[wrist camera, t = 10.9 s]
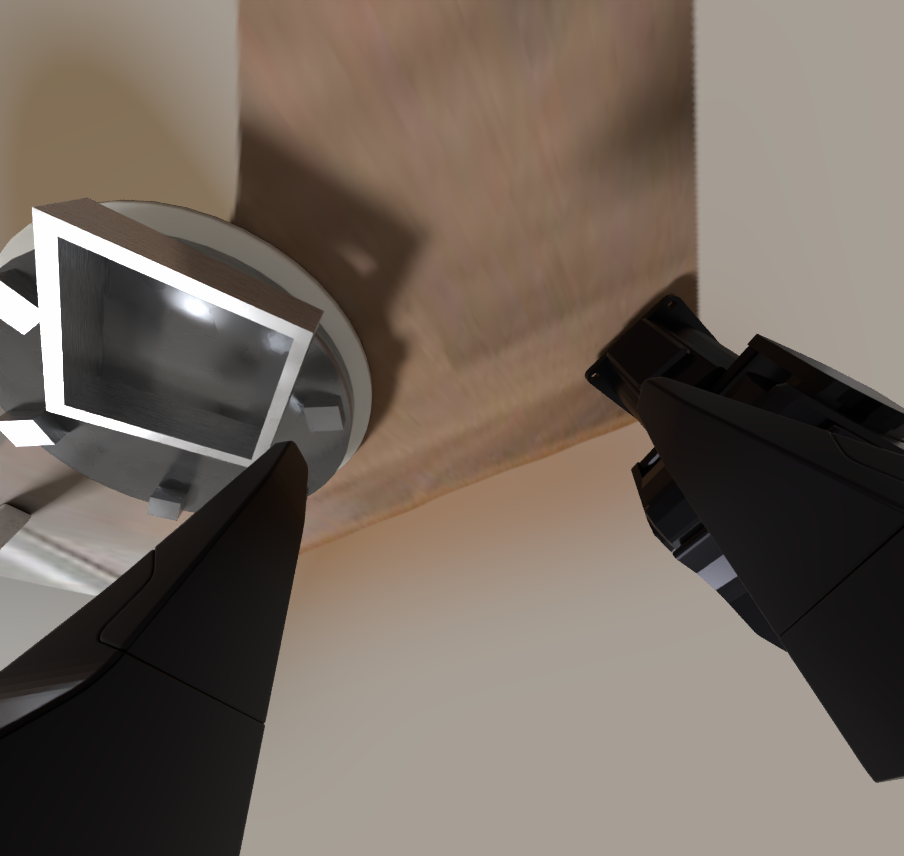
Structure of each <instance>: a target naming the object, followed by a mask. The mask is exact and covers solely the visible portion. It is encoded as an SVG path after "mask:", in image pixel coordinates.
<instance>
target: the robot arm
mask: <svg viewBox="0 0 904 856" xmlns="http://www.w3.org/2000/svg"><path fill="white" fill-rule="evenodd" d="M671 301H672V304H671V305H670V306H669V307H668V304H669V303H670V302H671ZM748 345H749V347H747V348H746V349H745V351H744V352H743V353H742V354H741V355H740V356H738V355H737V354H735V353H734V352H732V351H731V350H729V349H727V348H725V347H724V346H723V345H721V344H720V343H719V342H718V341H717V340H716V339H715V337H714V336H713V335H712V334H711V333H710V332H709V331H708V329H706V327H705V326H704V325H703V324H702V323H701V321H700V320H699V319H698V318H697V317H696V316H695V315H694V313H693V312H692V311H691V310H690V309H689V308H688V307H687V305H686V304H685V303H684V302H683V301H682V300H681V299H680V298H679V297H678V296H676V295H674V294H669V295H666V296H665V297H664V298H662V299H661V300H660V301H659V302H658V303H657V304H656V305H655V306H654V307H653V308H652V309H651V310H650V311H649V312H648V313H647V314H646V315H645V316H644V317H643V318H641V319H640V320H639V321H638V322H637V323H636V324H635V325H634V326H633V327H632V328H631V329H630V330H629V331H628V332H627V333H626V334H625V335H624V336H623V337H621V338H620V339H619V340H618V341H617V342H616V343H615V344H614V345H613V346H612V347H611V348H610V349H609V350H608V351H607V352H606V353H605V354H604V355H603V356H602V357H600V358H599V359H598V360H597V361H596V362H595V363H594V364H593V365H592V366H591V367H590V368H589V369H588V370H587V371H586V373H585V378H586V379H587V380H588V382H589V383H590V384H592V385H593V386H594V387H596V388H597V389H598V390H600V391H601V392H602V393H603V394H605V395H606V396H607V397H609V398H610V399H611V400H613V401H614V402H615V403H616V404H618V405H619V406H620V407H622V408H623V409H624V410H626V411H627V412H628V413H629V414H631V415H632V416H633V417H635V418H636V419H637V420H638V421H639V422H640V423H641V425H642V426H643V427H644V428H645V429H646V431H647V432H648V434H649V436H650V439H651V440H652V442H653V444H654V446H655V447H654V448H653V449H652V450H651V451H650V452H649V453H648V454H647V456H646V457H645V458H644V459H643V460H642V461H641V462H640V463H639V462H638V463H637V464H636V465H635V466H634V467H633V468H632V469H631V471H632V474H633V477H634V480H635V483H636V487H637V489H638V493H639V496H640V499H641V502H642V505H643V508H644V511H645V514H646V517H647V520H648V522H649V525H650V527H651V529H652V531H653V533H654V535H655V536H656V537H657V538H658V539H659V540H660V541H661V542H662V543H663V544H664V545H665V546H666V547H667V548H668V549H669V550H670V551H671V552H672V553H673V556H674V557H675V558H676V559H677V560H678V561H680V562H681V563H683V564H684V565H686V566H687V567H688V568H690V569H691V570H693V571H694V572H696V573H697V574H698V575H699V576H700V577H701V578H703V579H704V580H705V581H706V582H707V583H708V584H710V585H711V586H712V587H713V588H714V589H715V590H716V591H717V592H718V593H719V594H720V595H721V596H722V597H723V598H724V599H725V600H726V601H727V602H728V603H729V604H730V605H731V606H732V608H734V610H735V611H736V612H737V613H738V614H739V615H740V616H741V618H742V619H743V620H744V621H745V622H746V623H747V624H748V625H749V626H750V627H751V629H752V630H753V631H754V632H755V633H756V634H758V635H759V636H761V637H762V638H764V639H766V640H767V641H769V642H771V643H772V644H774V645H776V646H778V647H779V648H781V649H783V650H785V651H786V652H788V653H789V655H790V657H791V658H792V660H793V661H794V663H795V664H796V666H797V667H798V669H799V670H800V672H801V673H802V675H803V676H804V678H805V679H806V681H807V682H808V684H809V685H810V686H811V688H812V690H813V691H814V693H815V694H816V696H817V697H818V699H819V701H820V702H821V703H822V705H823V707H824V708H825V710H826V711H827V713H828V714H829V716H830V717H831V719H832V720H833V722H834V723H835V725H836V726H837V728H838V729H839V731H840V732H841V734H842V735H843V737H844V738H845V740H846V741H847V743H848V744H849V746H850V747H851V749H852V750H853V752H854V754H855V755H856V757H857V758H858V760H859V761H860V763H861V764H862V766H863V767H864V768H865V770H866V771H867V773H868V774H869V775H870V776H871V777H872V779H873V780H874V781H875V782H876V783H879V782H885V781H891V780H897V779H903V778H904V408H903V407H901V406H899V405H898V404H896V403H895V402H893V401H891V400H890V399H888V398H887V397H885V396H883V395H882V394H880V393H878V392H877V391H875V390H873V389H872V388H870V387H868V386H866V385H864V384H862V383H860V382H858V381H856V380H854V379H852V378H850V377H848V376H846V375H844V374H842V373H840V372H838V371H837V370H835V369H833V368H831V367H828V366H827V365H825V364H823V363H821V362H818V361H816V360H814V359H812V358H810V357H807V356H805V355H803V354H801V353H799V352H796V351H794V350H792V349H790V348H787V347H785V346H783V345H781V344H779V343H776V342H774V341H772V340H770V339H768V338H766V337H763V336H761V335H759V334H756V335H755V336H754V337H753V339H752V340H751V341H750V342H749V343H748ZM595 373H596V375H595V376H594V377H591V376H592V375H593V374H595ZM307 484H308V465H307V462H306V461H305V459H304V457H303V455H302V453H301V452H300V450H299V448H298V446H297V444H296V443H295V442H294V441H291V440H290V441H284V442H278V443H276V444H274V445H273V446H272V447H271V448H270V449H268V450H267V451H266V452H265V453H264V454H263V455H261V456H260V457H259V458H258V459H257V460H256V461H254V462H253V463H252V464H251V465H250V466H249V467H248V468H246V469H245V470H244V471H243V472H242V473H241V474H239V475H238V476H237V477H236V478H235V479H234V480H232V481H231V482H230V483H229V484H228V485H227V486H225V487H224V488H223V489H222V490H221V491H220V492H219V493H217V494H216V495H215V496H214V497H213V498H212V499H210V500H209V501H208V502H207V503H206V504H205V505H203V506H202V507H201V508H200V509H199V510H198V511H196V512H195V513H194V514H193V515H192V516H191V517H190V518H188V519H187V520H186V521H185V522H184V523H183V524H181V525H180V526H179V527H178V528H177V529H176V530H174V531H173V532H172V533H171V534H170V535H169V536H167V537H166V538H165V539H164V540H163V541H162V542H161V543H159V544H158V545H157V546H156V547H155V550H151V551H150V552H149V553H148V554H147V555H145V556H144V557H143V558H142V559H141V560H140V561H138V562H137V563H136V564H135V565H134V566H133V567H131V568H130V569H129V570H128V571H127V572H125V573H124V574H123V575H122V576H121V577H119V578H118V579H117V580H116V581H115V582H114V583H112V584H111V585H110V586H109V587H107V588H106V589H105V590H104V591H102V592H101V593H100V594H99V595H97V596H96V597H95V598H94V599H93V600H91V601H90V602H89V603H87V604H86V605H85V606H84V607H82V608H81V609H80V610H78V611H77V612H76V613H75V614H74V615H72V616H71V617H70V618H68V619H67V620H66V621H64V622H63V623H62V624H61V625H59V626H58V627H57V628H55V629H54V630H53V631H52V632H50V633H49V634H48V635H46V636H45V637H44V638H43V639H41V640H40V641H39V642H37V643H36V644H35V645H34V646H32V647H31V648H30V649H29V650H27V651H26V652H25V653H24V654H22V655H21V656H19V657H18V658H17V659H16V660H15V661H13V662H12V663H10V664H9V665H8V666H7V667H5V668H4V669H3V670H1V671H0V856H239V854H240V850H241V845H242V840H243V835H244V829H245V824H246V819H247V814H248V809H249V804H250V798H251V794H252V789H253V784H254V779H255V774H256V769H257V764H258V758H259V753H260V748H261V743H262V738H263V732H264V728H265V725H264V723H265V721H266V716H267V711H268V706H269V701H270V696H271V691H272V686H273V681H274V676H275V671H276V665H277V661H278V655H279V650H280V645H281V640H282V635H283V630H284V624H285V620H286V615H287V610H288V605H289V599H290V595H291V590H292V585H293V579H294V574H295V569H296V564H297V559H298V554H299V549H300V544H301V539H302V534H303V528H304V522H305V511H306V497H307Z"/></svg>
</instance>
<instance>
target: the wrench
mask: <svg viewBox="0 0 904 856" xmlns="http://www.w3.org/2000/svg"><path fill="white" fill-rule="evenodd" d="M30 518H31V515H29V514H27V513H25V512H23V511H20V510H18V509H16V508H14V507H12V506H9V505H7V504H3V505H1V506H0V549H1V548H2V547H3V546H4V545H5V544H6V543H7V542H8V541H9V540H10V539H11V538H12V537H13V536H14V535H15V534H16V533H17V532H18V531H19V530H20V529H21V528H22V527H23V526H24V525H25V524H26V523H27V522H28V521H29V519H30Z"/></svg>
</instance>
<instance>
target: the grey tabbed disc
mask: <svg viewBox="0 0 904 856" xmlns="http://www.w3.org/2000/svg"><path fill="white" fill-rule="evenodd" d="M32 215H33V229H34V243H35V249H34V250H31V251H29V252H27V253H24V254H22V255H20V256H18V257H15V258H13V259H12V260H10V261H9V262H7V263H6V264H5V265H3V266H2V267H1V268H0V406H1V407H2V408H3V409H4V410H5V412H6V413H4V414H3V415H1V416H0V431H2V433H3V434H4V435H5V436H6V437H7V438H8V439H9V440H10V441H11V442H12V443H13V444H14V445H15V446H16V447H19V446H39V445H40V446H41V447H43V448H44V449H45V450H46V451H48V452H49V453H50V454H51V455H53V456H54V457H56V458H57V459H59V460H60V461H62V462H63V463H65V464H66V465H68V466H69V467H71V468H73V469H74V470H76V471H78V472H80V473H81V474H83V475H85V476H87V477H88V478H90V479H92V480H94V481H96V482H98V483H101V484H103V485H105V486H107V487H109V488H111V489H114V490H116V491H119V492H121V493H123V494H126V495H128V496H131V497H134V498H137V499H140V500H143V501H146V502H149V506H148V513H147V514H148V515H152V516H157V517H162V518H167V519H171V520H176V521H177V520H178V518H179V516H180V515H181V513H182V511H183V510H184V511H189V512H196V511H198V510H199V509H200V508H201V507H202V506H203V505H205V504H206V503H207V502H208V501H209V500H210V499H212V498H213V497H214V496H215V495H216V494H217V493H219V492H220V491H221V490H222V489H223V488H224V487H225V486H227V485H228V484H229V483H230V482H231V481H232V480H234V479H235V478H236V477H237V476H238V475H239V474H241V473H242V472H243V471H244V470H245V469H246V468H248V467H249V466H250V465H251V464H252V463H253V462H254V461H256V460H257V459H258V458H259V457H260V456H261V455H263V454H264V453H265V452H266V451H267V450H268V449H270V448H271V447H272V446H273V445H274V444H276V443H278V442H284V441H290V440H291V441H294V442H295V443H296V444H297V446H298V448H299V450H300V452H301V453H302V455H303V457H304V459H305V461H306V462H307V465H308V484H307V497H308V496H309V495H311V494H312V493H314V492H315V491H317V490H318V489H319V488H321V487H322V486H323V485H324V484H326V482H327V481H328V480H329V479H330V478H331V477H332V476H333V475H334V474H335V472H336V471H337V469H338V468H339V466H340V465H341V463H342V461H343V459H344V457H345V454H346V452H347V448H348V444H349V440H350V435H351V430H352V424H353V419H354V404H355V403H354V394H353V387H352V383H351V379H350V376H349V372H348V370H347V367H346V365H345V363H344V360H343V358H342V356H341V354H340V352H339V350H338V349H337V347H336V345H335V344H334V342H333V340H332V338H331V337H330V336H329V335H328V333H327V332H326V331H325V329H324V328H323V327H322V325H321V324H320V320H321V318H322V315H323V313H324V311H323V310H321V309H319V308H317V307H315V306H313V305H311V304H308V303H306V302H304V301H302V300H300V299H298V298H296V297H294V296H292V295H291V294H290V293H289V292H287V291H286V290H285V289H284V288H283V287H281V286H280V285H279V284H277V283H276V282H274V281H273V280H271V279H270V278H268V277H267V276H265V275H264V274H263V273H261V272H260V271H258V270H256V269H254V268H252V267H251V266H249V265H247V264H245V263H243V262H241V261H240V260H238V259H236V258H234V257H232V256H229V255H227V254H225V253H222V252H220V251H218V250H215V249H213V248H211V247H208V246H205V245H202V244H198V243H195V242H192V241H189V240H185V239H182V238H178V237H173V236H168V235H164V234H162V233H160V232H158V231H156V230H154V229H152V228H149V227H147V226H145V225H143V224H141V223H139V222H137V221H135V220H133V219H131V218H129V217H126V216H124V215H122V214H120V213H118V212H116V211H114V210H112V209H110V208H108V207H106V206H103V205H101V204H99V203H97V202H95V201H93V200H91V199H89V198H83V199H77V200H71V201H65V202H59V203H53V204H47V205H42V206H35V207H32ZM307 497H306V500H307Z"/></svg>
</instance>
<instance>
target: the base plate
mask: <svg viewBox="0 0 904 856" xmlns="http://www.w3.org/2000/svg"><path fill="white" fill-rule="evenodd" d="M97 203H99V204H101V205H103V206H106V207H108V208H110V209H112V210H114V211H116V212H118V213H120V214H122V215H124V216H126V217H129V218H131V219H133V220H135V221H137V222H139V223H141V224H143V225H145V226H147V227H149V228H152V229H154V230H156V231H158V232H160V233H162V234H164V235H168V236H173V237H178V238H182V239H185V240H189V241H192V242H195V243H198V244H202V245H205V246H208V247H211V248H213V249H215V250H218V251H220V252H222V253H225V254H227V255H229V256H232V257H234V258H236V259H238V260H240V261H241V262H243V263H245V264H247V265H249V266H251V267H252V268H254V269H256V270H258V271H260V272H261V273H263V274H264V275H265V276H267V277H268V278H270V279H271V280H273V281H274V282H276V283H277V284H279V285H280V286H281V287H283V288H284V289H285V290H286V291H287V292H289V293H290V294H291V295H292V296H294V297H296V298H298V299H300V300H302V301H304V302H306V303H308V304H311V305H313V306H315V307H317V308H319V309H321V310H323V311H324V313H323V315H322V318H321V320H320V324H321V325H322V327H323V328H324V329H325V331H326V332H327V333H328V335H329V336H330V337H331V338H332V340H333V342H334V344H335V345H336V347H337V349H338V350H339V352H340V354H341V356H342V358H343V360H344V363H345V365H346V367H347V370H348V372H349V376H350V379H351V383H352V387H353V394H354V403H355V404H354V419H353V424H352V430H351V435H350V440H349V444H348V448H347V452H346V454H345V457H344V459H343V461H342V463H341V465H340V466H339V468H338V469H337V471H338V470H339V469H340V468H341V467H342V466H344V465H345V464H346V462H347V461H348V460H349V459H350V458H351V457H352V456H353V455H354V453H355V452H356V450H357V449H358V447H359V445H360V444H361V442H362V440H363V437H364V435H365V433H366V430H367V427H368V422H369V418H370V413H371V404H372V382H371V373H370V369H369V365H368V361H367V357H366V354H365V352H364V349H363V347H362V344H361V342H360V339H359V337H358V335H357V333H356V332H355V330H354V328H353V326H352V324H351V323H350V321H349V319H348V318H347V316H346V315H345V313H344V312H343V311H342V309H341V308H340V307H339V305H338V304H337V302H336V301H335V300H334V299H333V297H332V296H331V295H330V294H329V293H328V292H327V291H326V290H325V289H324V288H323V286H322V285H321V284H320V283H319V282H318V281H317V280H316V279H315V278H314V277H313V276H311V275H310V274H309V273H308V272H307V271H306V270H305V269H303V268H302V267H301V266H300V265H299V264H298V263H297V262H295V261H294V260H293V259H291V258H290V257H288V256H287V255H286V254H284V253H283V252H281V251H280V250H279V249H277V248H276V247H274V246H273V245H272V244H270V243H268V242H266V241H264V240H263V239H261V238H259V237H257V236H256V235H254V234H252V233H250V232H249V231H247V230H245V229H243V228H241V227H238V226H236V225H234V224H231V223H229V222H227V221H224V220H222V219H220V218H218V217H215V216H212V215H208V214H205V213H202V212H198V211H196V210H192V209H189V208H186V207H181V206H176V205H170V204H165V203H159V202H154V201H134V200H119V201H107V202H97ZM34 249H35V243H34V229H33V223H31V224H29V225H28V226H27V227H25V228H24V229H23V230H21V231H20V232H19V233H18V234H17V235H16V236H14V237H13V238H12V239H11V240H10V241H9V242H8V244H7V245H6V246H5V248H4V249H3V251H2V252H1V253H0V268H1V267H2V266H3V265H5V264H6V263H7V262H9V261H10V260H12V259H13V258H15V257H18V256H20V255H22V254H24V253H27V252H29V251H31V250H34Z"/></svg>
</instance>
